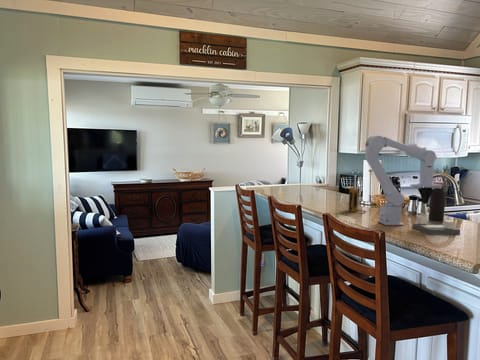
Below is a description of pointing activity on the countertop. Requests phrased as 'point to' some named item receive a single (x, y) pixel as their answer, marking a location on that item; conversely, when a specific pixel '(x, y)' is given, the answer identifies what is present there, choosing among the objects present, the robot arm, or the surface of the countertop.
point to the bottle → (437, 204)
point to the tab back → (422, 219)
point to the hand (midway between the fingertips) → (425, 203)
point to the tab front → (448, 224)
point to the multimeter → (354, 198)
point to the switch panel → (435, 228)
